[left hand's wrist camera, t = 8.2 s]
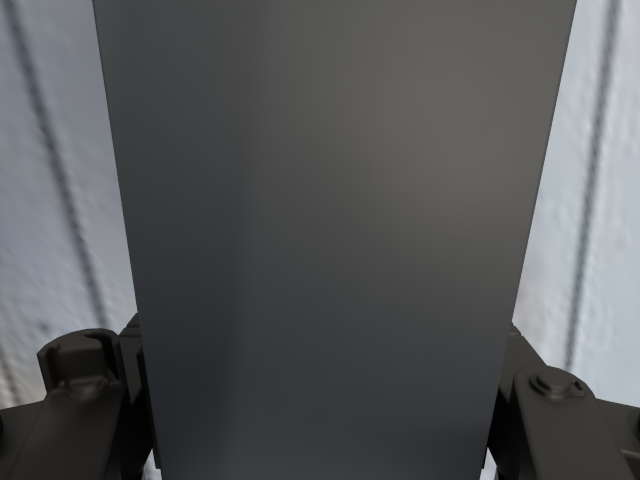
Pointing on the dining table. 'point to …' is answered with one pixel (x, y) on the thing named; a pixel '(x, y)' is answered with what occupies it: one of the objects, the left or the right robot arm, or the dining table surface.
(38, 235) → the dining table surface
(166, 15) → the post
